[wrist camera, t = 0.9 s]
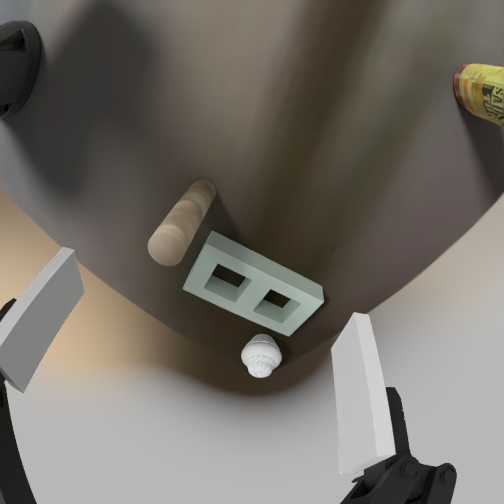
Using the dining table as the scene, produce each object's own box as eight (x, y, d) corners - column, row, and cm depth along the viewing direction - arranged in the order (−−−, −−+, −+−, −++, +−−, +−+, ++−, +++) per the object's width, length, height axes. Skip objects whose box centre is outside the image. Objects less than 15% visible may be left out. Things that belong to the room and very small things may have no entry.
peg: (186, 196, 32) (143, 255, 22) (196, 174, 30) (153, 227, 20) (209, 207, 32) (176, 272, 23) (220, 186, 31) (189, 245, 21)
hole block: (188, 274, 38) (182, 288, 36) (212, 230, 34) (206, 243, 32) (289, 321, 41) (288, 336, 39) (322, 286, 37) (324, 301, 35)
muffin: (264, 355, 47) (261, 390, 41) (236, 339, 45) (229, 375, 39) (290, 339, 44) (289, 376, 38) (261, 321, 42) (257, 359, 36)
